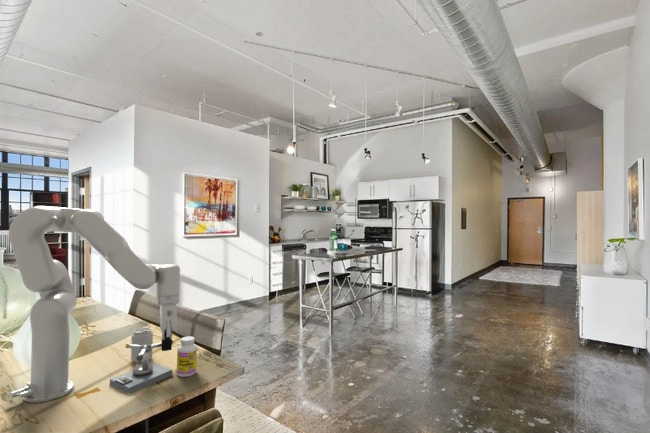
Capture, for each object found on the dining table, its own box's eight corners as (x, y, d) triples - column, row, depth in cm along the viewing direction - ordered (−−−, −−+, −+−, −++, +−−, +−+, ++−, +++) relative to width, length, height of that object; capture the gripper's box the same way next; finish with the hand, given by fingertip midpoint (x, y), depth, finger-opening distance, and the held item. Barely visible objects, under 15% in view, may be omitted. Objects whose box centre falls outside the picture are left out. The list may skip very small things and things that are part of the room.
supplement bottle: (175, 378, 123) (176, 342, 123) (178, 370, 130) (178, 336, 130) (195, 376, 125) (196, 340, 125) (196, 368, 131) (197, 334, 131)
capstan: (173, 364, 129) (174, 339, 129) (139, 385, 113) (139, 356, 113) (143, 360, 132) (143, 335, 133) (105, 379, 116) (106, 351, 116)
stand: (128, 394, 112) (128, 382, 112) (109, 385, 117) (109, 373, 117) (172, 375, 126) (172, 364, 126) (153, 367, 131) (153, 357, 131)
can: (143, 364, 134) (144, 333, 134) (126, 362, 135) (127, 331, 135) (156, 357, 141) (157, 327, 141) (140, 355, 142) (141, 326, 143)
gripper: (182, 302, 121) (180, 355, 120) (176, 293, 133) (175, 341, 133) (158, 304, 117) (156, 359, 117) (154, 295, 130) (153, 344, 130)
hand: (166, 349), depth 125 cm, fingers closed
